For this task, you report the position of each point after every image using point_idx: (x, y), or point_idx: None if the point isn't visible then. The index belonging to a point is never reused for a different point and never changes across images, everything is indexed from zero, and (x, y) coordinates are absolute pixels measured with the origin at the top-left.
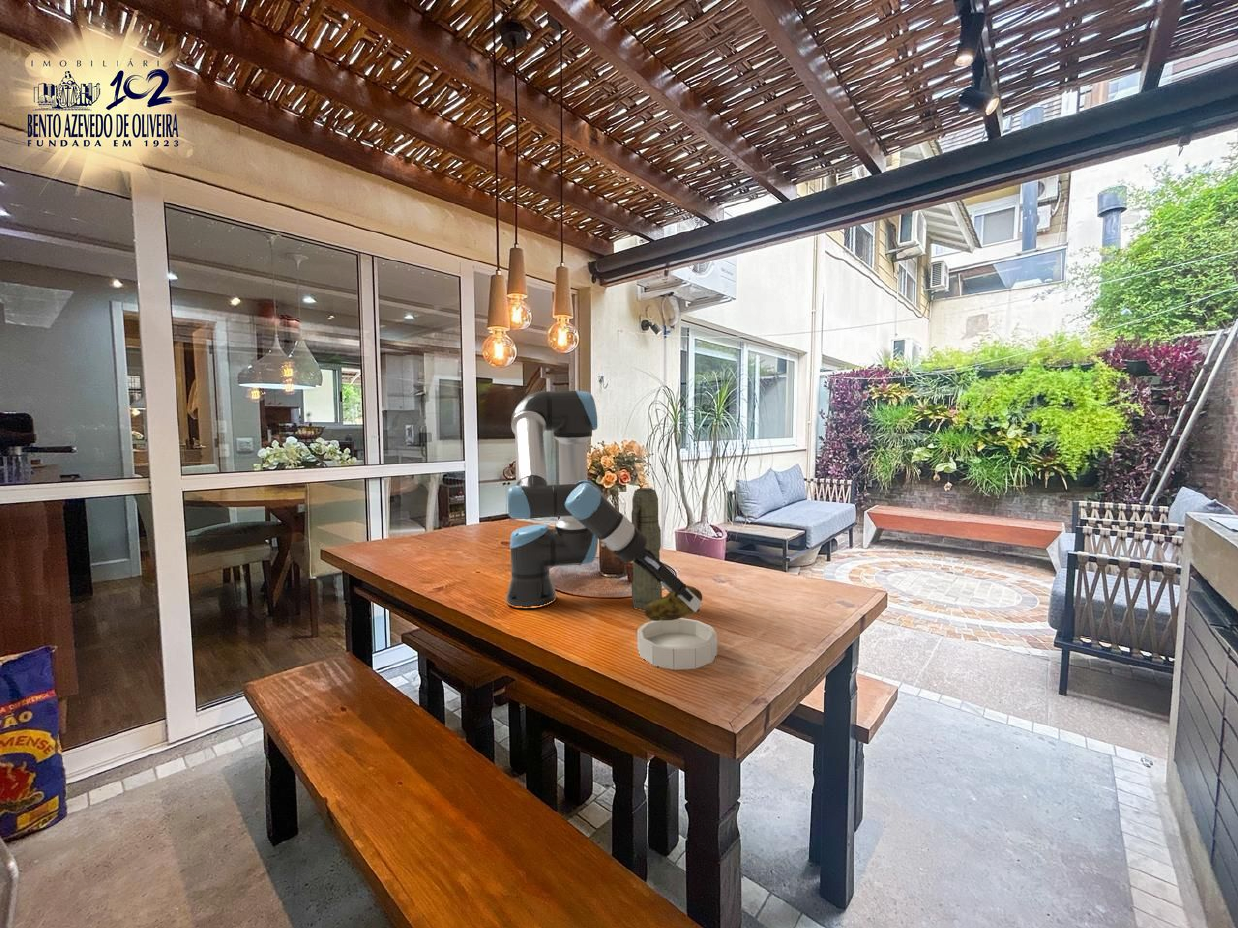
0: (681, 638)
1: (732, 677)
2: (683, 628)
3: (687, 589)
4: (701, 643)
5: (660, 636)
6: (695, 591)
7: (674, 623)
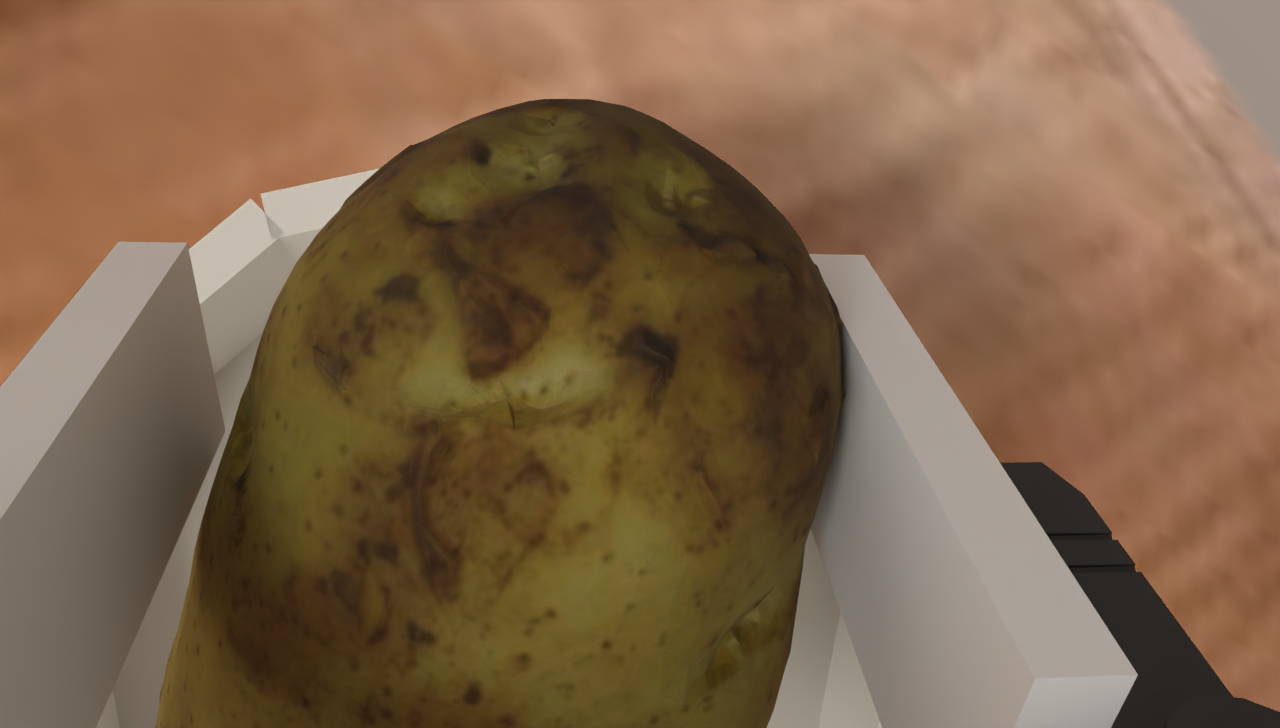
0: None
1: (1079, 380)
2: None
3: (1041, 561)
4: None
5: (162, 658)
6: (779, 268)
7: None
